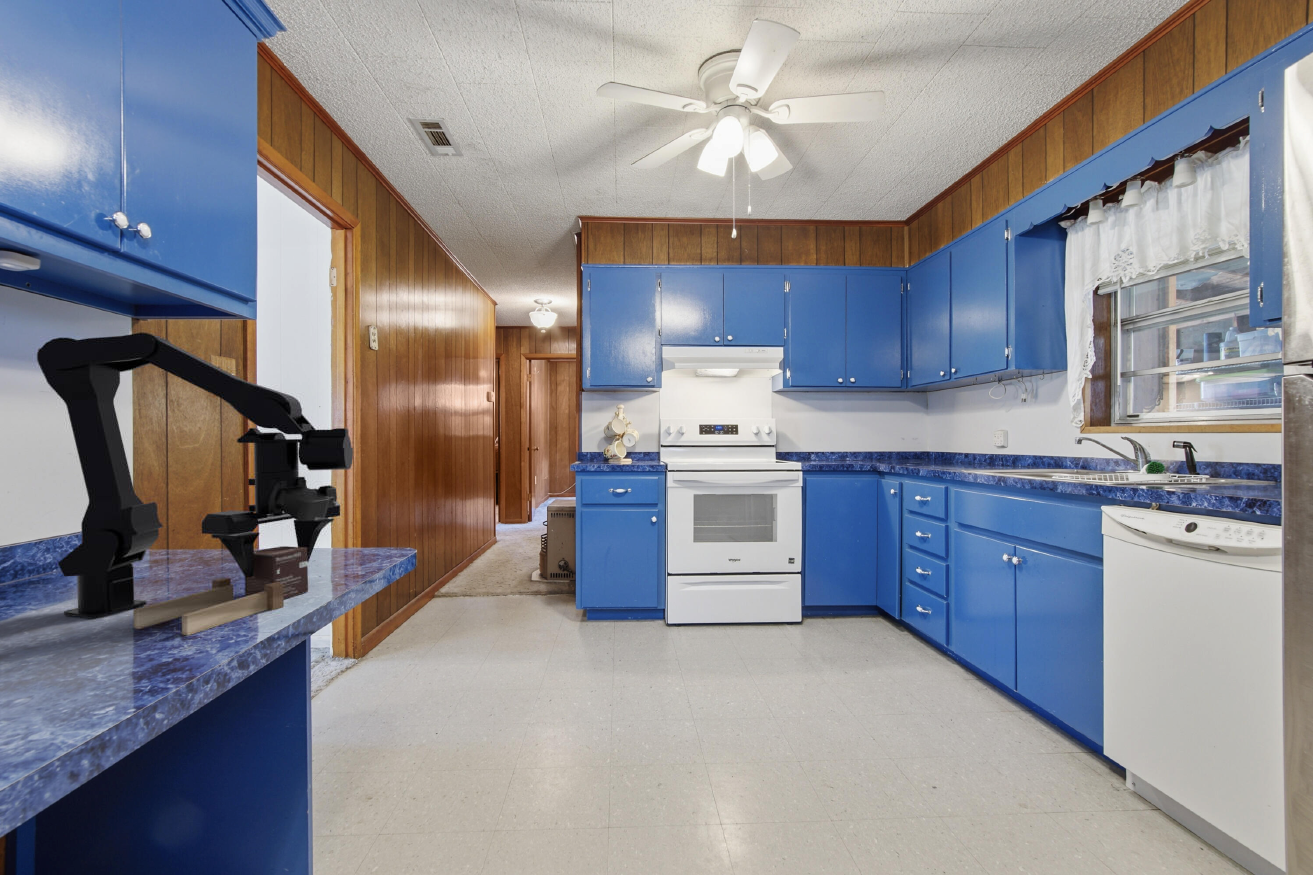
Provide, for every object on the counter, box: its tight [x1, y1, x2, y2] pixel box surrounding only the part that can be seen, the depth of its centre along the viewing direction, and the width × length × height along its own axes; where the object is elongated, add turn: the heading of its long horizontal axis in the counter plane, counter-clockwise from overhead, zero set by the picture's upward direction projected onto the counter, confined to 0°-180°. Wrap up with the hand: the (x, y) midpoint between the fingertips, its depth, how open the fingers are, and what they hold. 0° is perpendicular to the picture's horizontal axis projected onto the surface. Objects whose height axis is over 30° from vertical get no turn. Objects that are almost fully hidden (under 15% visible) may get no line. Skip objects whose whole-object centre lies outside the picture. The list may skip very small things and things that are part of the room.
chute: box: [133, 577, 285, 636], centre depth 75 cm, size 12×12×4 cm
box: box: [244, 545, 309, 600], centre depth 85 cm, size 6×6×7 cm
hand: (278, 569), depth 85 cm, fingers open, 9 cm apart
